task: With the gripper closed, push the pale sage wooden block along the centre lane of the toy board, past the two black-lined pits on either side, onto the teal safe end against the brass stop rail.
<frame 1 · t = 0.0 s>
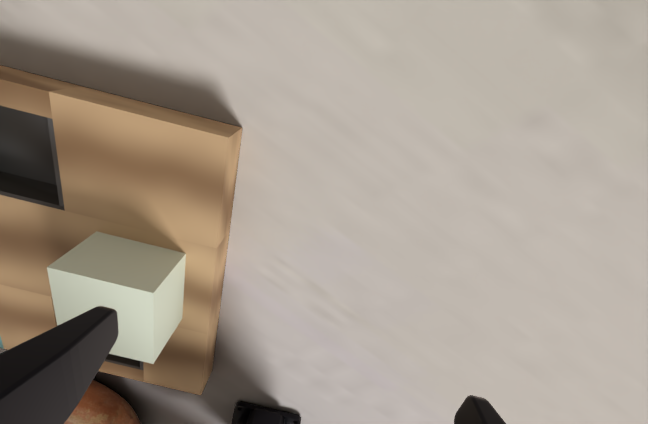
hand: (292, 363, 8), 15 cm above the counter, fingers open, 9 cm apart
ceramic jug: (93, 400, 35), on the counter
block: (142, 277, 24), point 2 cm above the counter, touching toy board
toy board: (70, 235, 26), on the counter
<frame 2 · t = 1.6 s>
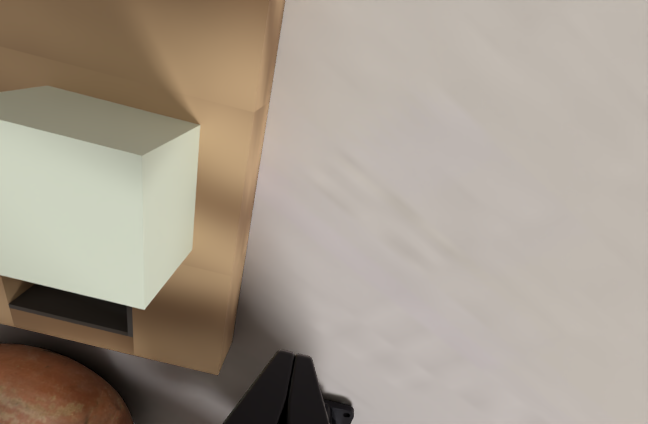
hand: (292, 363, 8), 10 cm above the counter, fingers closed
ceramic jug: (69, 386, 26), on the counter
block: (127, 175, 14), point 2 cm above the counter, touching toy board
toy board: (16, 122, 16), on the counter
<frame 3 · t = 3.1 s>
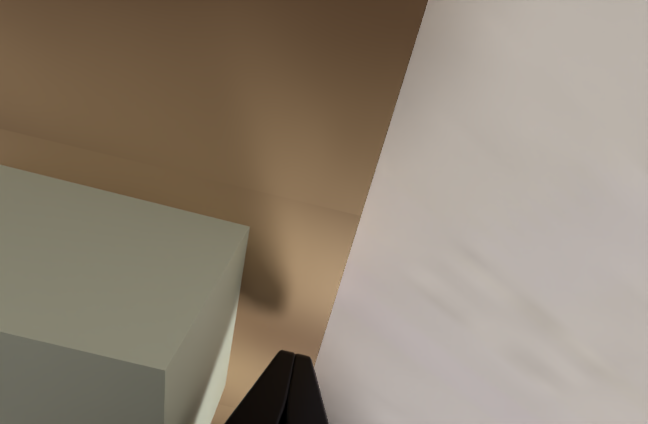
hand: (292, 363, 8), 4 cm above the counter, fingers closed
block: (129, 291, 9), point 3 cm above the counter, touching gripper, toy board
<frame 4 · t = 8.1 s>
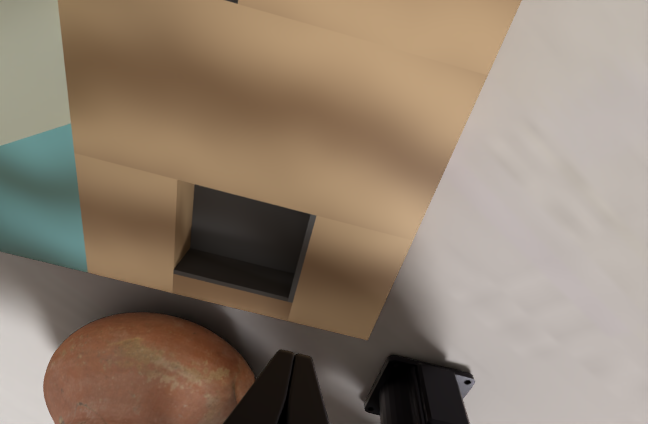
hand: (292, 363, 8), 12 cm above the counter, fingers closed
ceramic jug: (185, 357, 27), on the counter
toy board: (203, 88, 17), on the counter
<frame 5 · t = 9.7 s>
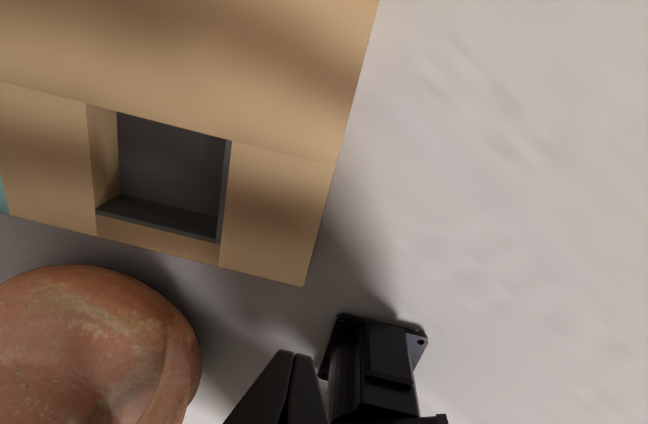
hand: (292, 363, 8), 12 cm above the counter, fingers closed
ceramic jug: (131, 321, 26), on the counter
toy board: (115, 10, 16), on the counter
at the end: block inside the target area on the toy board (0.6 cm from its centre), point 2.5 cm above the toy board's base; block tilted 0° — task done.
